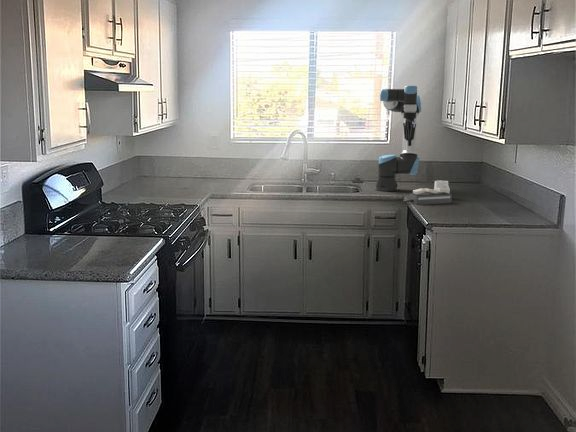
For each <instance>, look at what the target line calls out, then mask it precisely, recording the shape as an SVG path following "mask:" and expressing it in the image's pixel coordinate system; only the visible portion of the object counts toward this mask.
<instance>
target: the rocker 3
mask: <svg viewBox="0 0 576 432" xmlns="http://www.w3.org/2000/svg"><path fill="white" fill-rule="evenodd" d="M436 190H437V191H441V192H446V193H449V190H447V189H442V188H436Z"/></svg>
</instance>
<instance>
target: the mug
mask: <svg viewBox="0 0 576 432" xmlns="http://www.w3.org/2000/svg"><path fill="white" fill-rule="evenodd" d="M436 188H442V189H447V190H449V193H450V192H451V190H450V186H449V181H448V180H441V179H440V180H434V187H433V189H434V190H436ZM438 192H441V191H438ZM450 194H451V193H450Z"/></svg>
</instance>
